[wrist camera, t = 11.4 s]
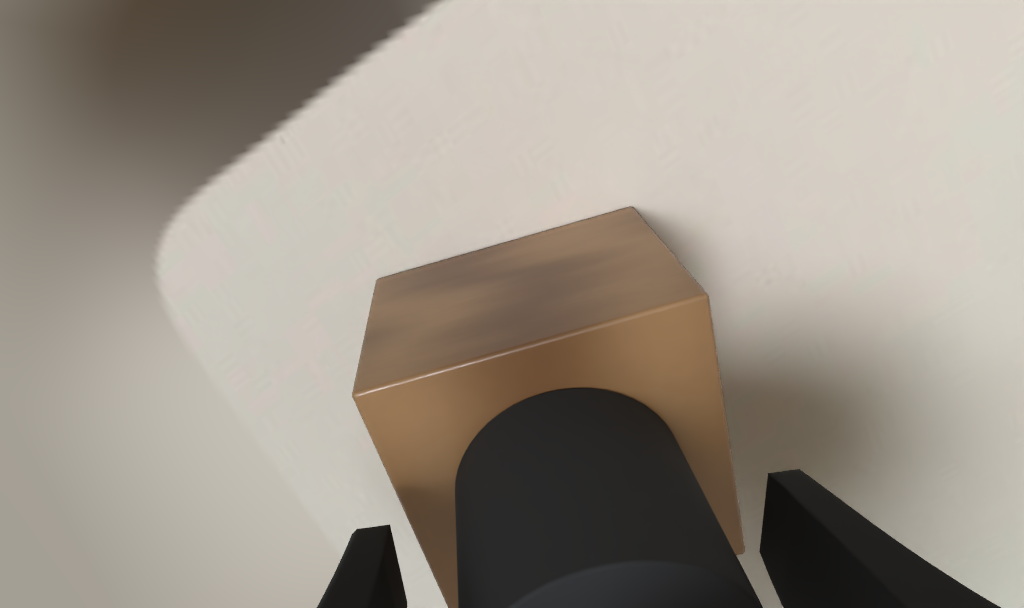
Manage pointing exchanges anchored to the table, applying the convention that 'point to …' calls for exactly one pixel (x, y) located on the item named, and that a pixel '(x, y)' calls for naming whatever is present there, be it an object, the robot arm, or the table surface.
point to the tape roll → (588, 512)
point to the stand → (537, 359)
